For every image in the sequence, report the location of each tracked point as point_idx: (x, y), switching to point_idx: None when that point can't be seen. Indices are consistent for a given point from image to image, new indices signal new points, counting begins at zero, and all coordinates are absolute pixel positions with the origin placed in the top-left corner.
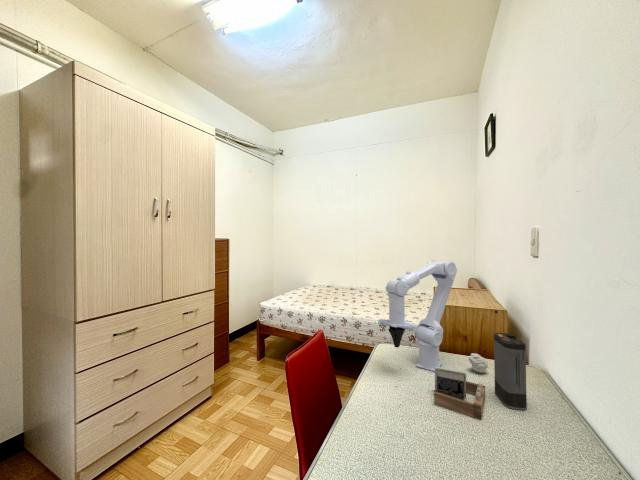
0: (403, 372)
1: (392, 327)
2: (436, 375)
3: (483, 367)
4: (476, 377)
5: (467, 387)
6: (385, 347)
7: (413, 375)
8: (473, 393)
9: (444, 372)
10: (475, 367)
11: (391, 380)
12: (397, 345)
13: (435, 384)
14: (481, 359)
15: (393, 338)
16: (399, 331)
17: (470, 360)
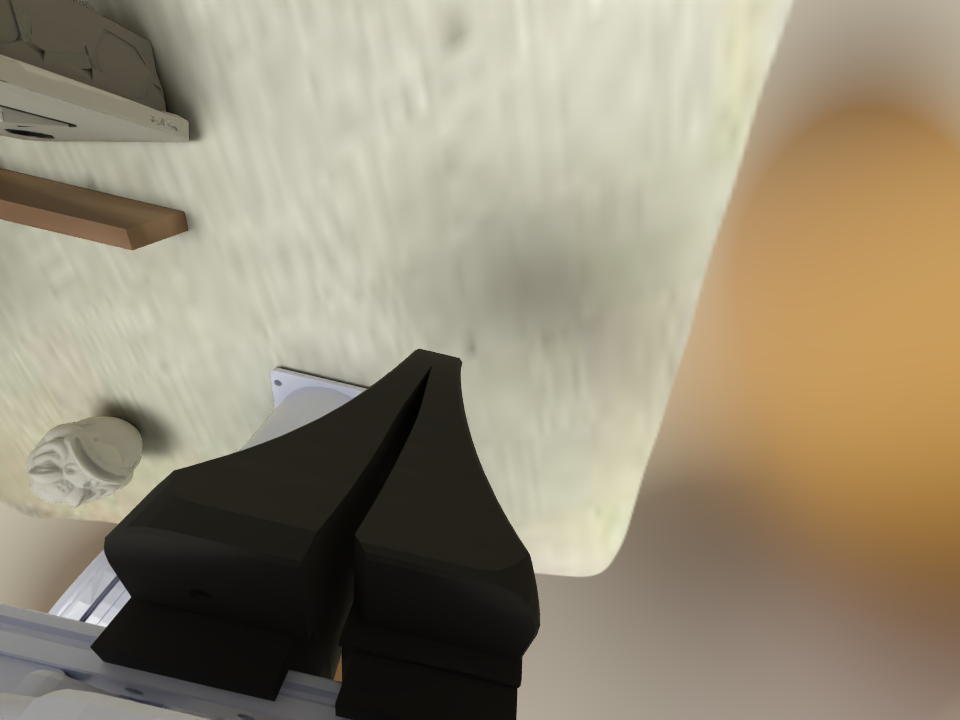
0: (443, 299)
1: (428, 683)
2: (23, 65)
3: (54, 427)
4: (110, 376)
5: (4, 185)
6: (588, 548)
7: (376, 282)
8: (4, 173)
9: None
10: (102, 430)
11: (506, 132)
12: (409, 358)
13: (145, 106)
14: (29, 465)
15: (446, 425)
16: (152, 511)
17: (92, 457)
